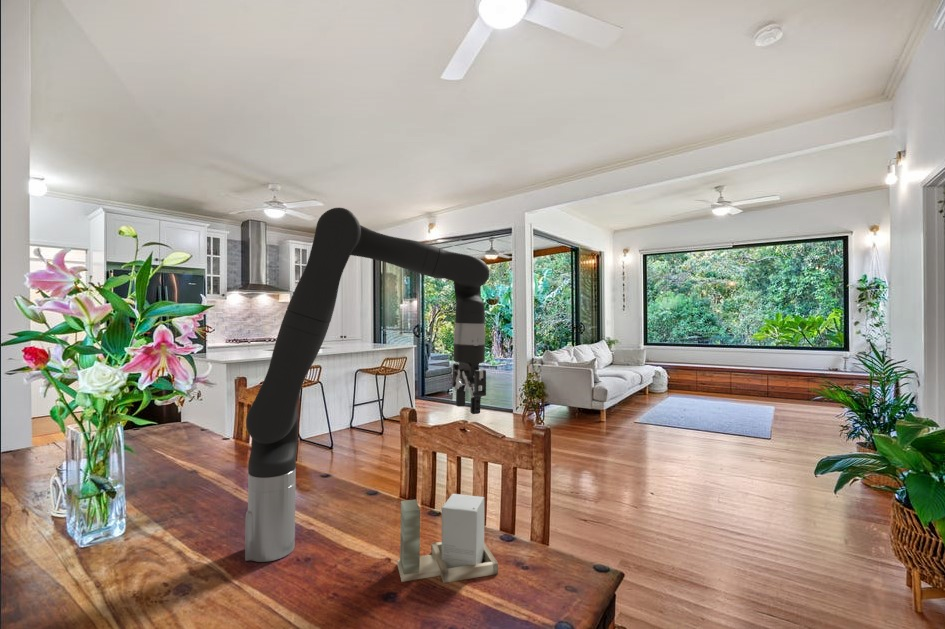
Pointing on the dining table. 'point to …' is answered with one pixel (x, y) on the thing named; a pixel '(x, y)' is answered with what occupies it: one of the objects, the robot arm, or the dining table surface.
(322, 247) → the robot arm
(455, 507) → the supplement box
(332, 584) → the dining table surface
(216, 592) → the dining table surface
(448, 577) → the tray with upright post
